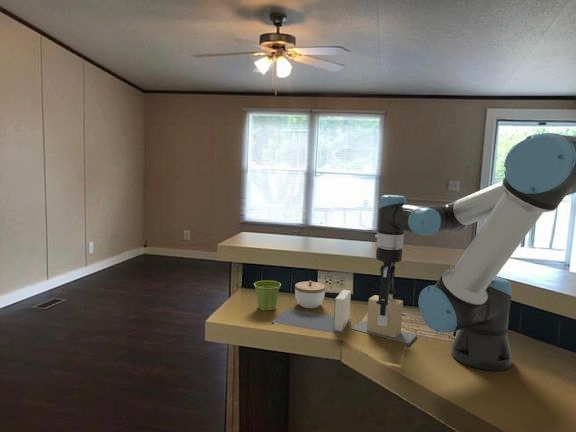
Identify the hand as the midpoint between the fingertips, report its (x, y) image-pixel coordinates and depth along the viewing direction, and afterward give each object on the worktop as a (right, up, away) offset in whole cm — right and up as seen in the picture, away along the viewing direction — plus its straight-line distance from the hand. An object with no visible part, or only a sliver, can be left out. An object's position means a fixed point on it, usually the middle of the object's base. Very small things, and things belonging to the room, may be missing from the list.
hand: (384, 319), depth 136 cm
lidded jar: (-22, -1, +23) cm, 32 cm away
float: (0, -5, +1) cm, 5 cm away
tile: (-12, -3, +5) cm, 14 cm away
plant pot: (-37, -1, +20) cm, 42 cm away
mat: (-21, -3, +8) cm, 23 cm away
